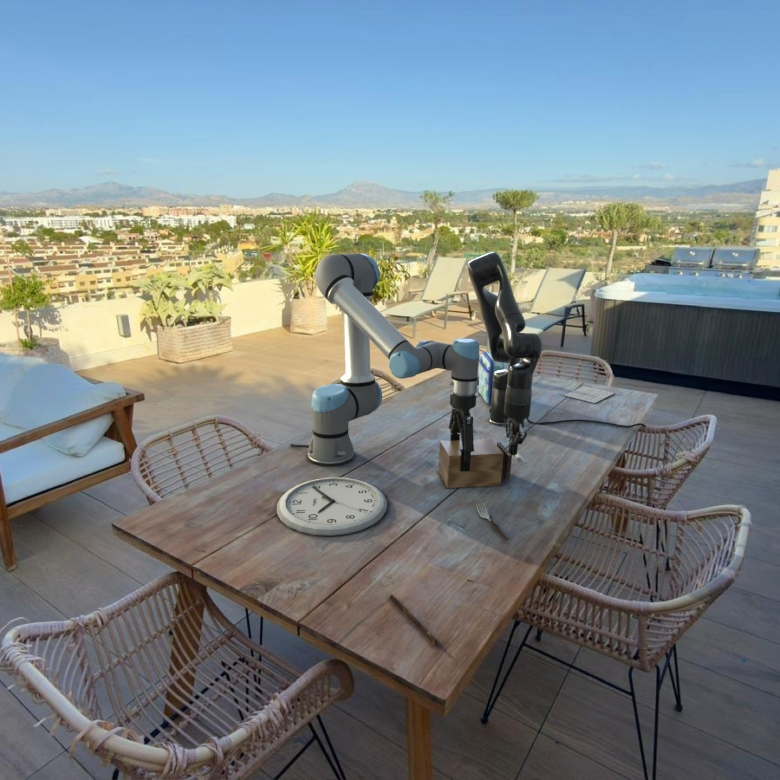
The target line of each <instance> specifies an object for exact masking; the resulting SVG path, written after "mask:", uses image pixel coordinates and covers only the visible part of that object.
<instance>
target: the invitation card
mask: <svg viewBox="0 0 780 780" xmlns="http://www.w3.org/2000/svg"><path fill="white" fill-rule="evenodd" d="M614 394H616V393H615V392H612V391H607V390H605V389H604V390H603V389H599V388H594V387H590V386H586V385H583V386H581V387H578V388H576V389H574V390H572V391H569V392H567V393H565V394H563V395H562V396H563V397H568V398H572V399H576V400H580V401H583V402H587V403H592V404H596V403H599V402H601V401H603V400H604V399H607V398H608V397H610V396H613V395H614Z"/></svg>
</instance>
